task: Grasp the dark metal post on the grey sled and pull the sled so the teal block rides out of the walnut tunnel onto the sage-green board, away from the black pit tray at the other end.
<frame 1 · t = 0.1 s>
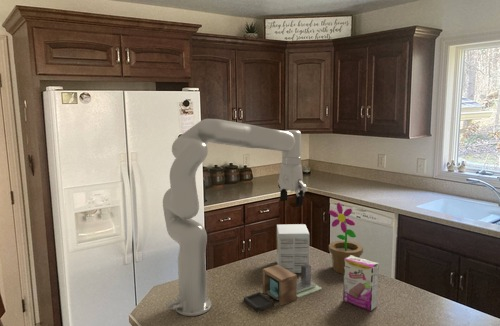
hand: (291, 203, 162), 31 cm above the countertop, tool pointing down, fingers open, 9 cm apart
pit tray: (258, 303, 144), on the countertop
tunnel: (279, 296, 149), on the countertop
supplement box: (292, 267, 176), on the countertop
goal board: (301, 288, 155), on the countertop
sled: (291, 280, 152), point 5 cm above the countertop, slide at 0.0 cm
candy bar box: (359, 304, 143), on the countertop
flowerpot: (345, 269, 172), on the countertop
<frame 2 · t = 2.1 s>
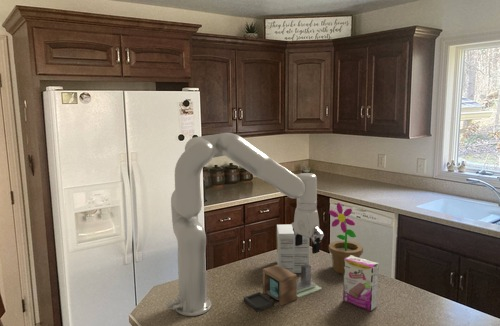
hand: (307, 248, 154), 16 cm above the countertop, tool pointing down, fingers open, 9 cm apart
nothing on the countertop moved.
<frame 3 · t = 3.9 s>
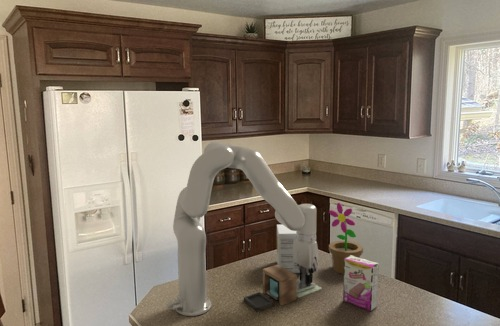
hand: (305, 281, 156), 2 cm above the countertop, tool pointing down, fingers closed on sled, 2 cm apart
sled: (292, 280, 152), point 5 cm above the countertop, slide at 0.0 cm, touching gripper
everything else where it was.
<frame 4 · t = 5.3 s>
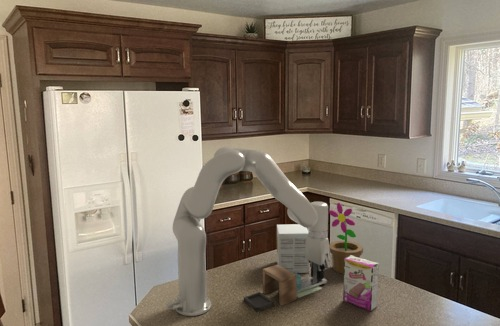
hand: (317, 277, 159), 2 cm above the countertop, tool pointing down, fingers closed on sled, 2 cm apart
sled: (303, 276, 155), point 5 cm above the countertop, slide at 5.9 cm, touching gripper
everything else where it was.
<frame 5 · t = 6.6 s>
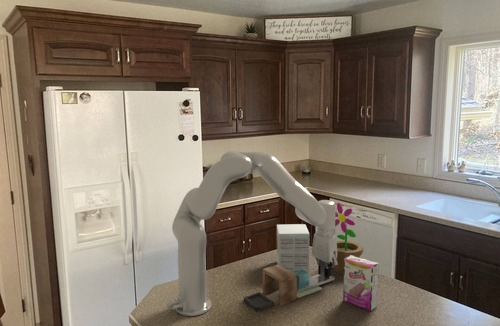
hand: (324, 275, 161), 2 cm above the countertop, tool pointing down, fingers closed on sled, 2 cm apart
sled: (311, 273, 157), point 5 cm above the countertop, slide at 9.9 cm, touching gripper
everything else where it was.
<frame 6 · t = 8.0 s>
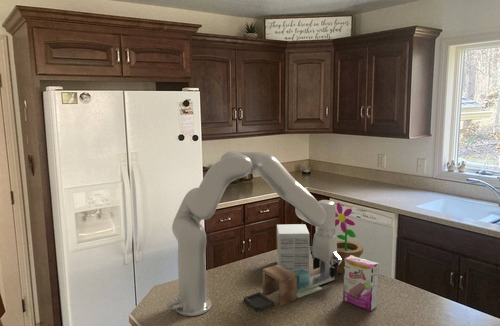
hand: (324, 272, 161), 4 cm above the countertop, tool pointing down, fingers open, 9 cm apart
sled: (311, 273, 157), point 5 cm above the countertop, slide at 10.0 cm
everything else where it was.
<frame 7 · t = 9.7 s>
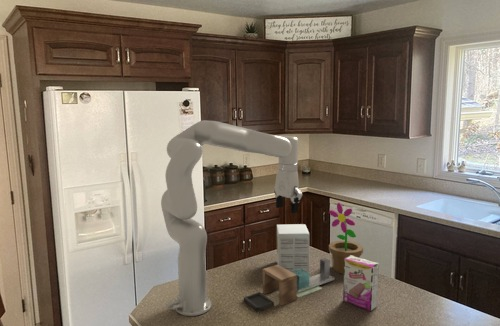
hand: (286, 210, 160), 29 cm above the countertop, tool pointing down, fingers open, 9 cm apart
nothing on the countertop moved.
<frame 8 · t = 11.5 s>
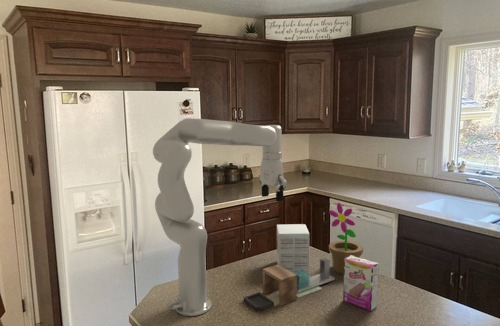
hand: (272, 198, 161), 33 cm above the countertop, tool pointing down, fingers open, 9 cm apart
nothing on the countertop moved.
at the end: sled slide at 10.0 cm; the gripper is holding nothing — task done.
